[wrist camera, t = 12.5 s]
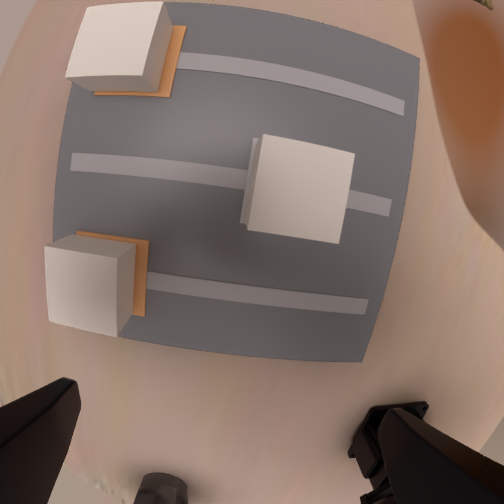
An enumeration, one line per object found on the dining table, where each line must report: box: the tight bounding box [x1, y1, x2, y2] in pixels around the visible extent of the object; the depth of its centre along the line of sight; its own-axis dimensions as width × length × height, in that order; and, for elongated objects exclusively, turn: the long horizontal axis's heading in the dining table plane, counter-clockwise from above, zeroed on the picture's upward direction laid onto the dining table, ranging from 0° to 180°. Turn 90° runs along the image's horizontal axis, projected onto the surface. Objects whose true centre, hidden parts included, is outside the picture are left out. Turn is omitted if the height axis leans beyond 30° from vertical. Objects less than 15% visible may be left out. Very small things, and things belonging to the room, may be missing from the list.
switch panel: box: [53, 2, 420, 362], centre depth 16 cm, size 20×20×2 cm
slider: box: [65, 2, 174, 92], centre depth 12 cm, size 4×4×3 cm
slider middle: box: [245, 134, 355, 244], centre depth 14 cm, size 4×4×3 cm
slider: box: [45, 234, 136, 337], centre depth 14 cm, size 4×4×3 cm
